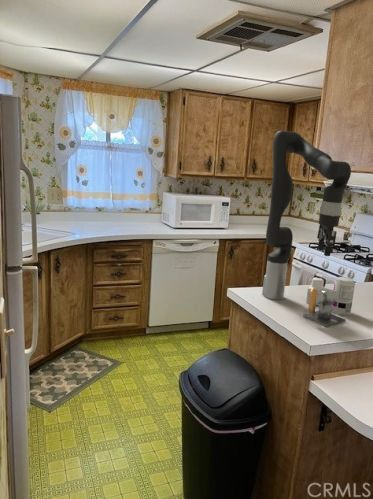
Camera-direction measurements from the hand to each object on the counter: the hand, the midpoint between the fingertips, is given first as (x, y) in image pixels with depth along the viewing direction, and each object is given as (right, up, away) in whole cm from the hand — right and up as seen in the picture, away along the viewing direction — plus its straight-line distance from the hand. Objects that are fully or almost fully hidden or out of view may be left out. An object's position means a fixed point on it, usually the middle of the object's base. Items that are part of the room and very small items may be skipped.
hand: (323, 253), depth 163 cm
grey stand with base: (+2, -27, +4) cm, 28 cm away
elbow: (-1, -23, +1) cm, 23 cm away
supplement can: (+12, -26, +14) cm, 32 cm away
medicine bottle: (+4, -23, +24) cm, 34 cm away
